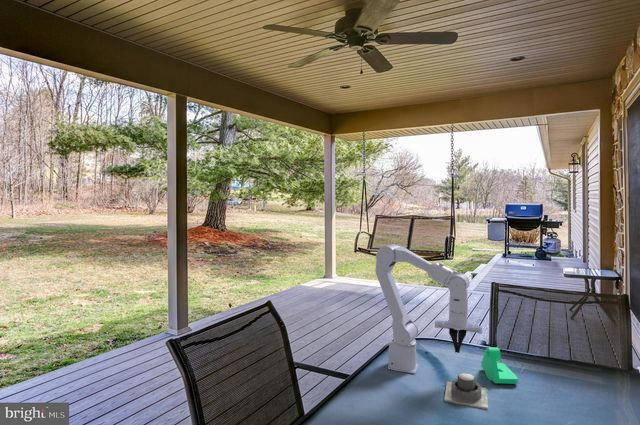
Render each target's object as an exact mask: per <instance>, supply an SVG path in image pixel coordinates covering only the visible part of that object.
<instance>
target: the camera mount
mask: <svg viewBox="0 0 640 425" xmlns="http://www.w3.org/2000/svg"><path fill="white" fill-rule="evenodd" d="M501 356H502V355H501V350H500V348H499V347H491V346H488V347H486V348H485V352H484V353H483V356H482V360H481V368H482V370H484V374H485V376H486V377H487V378H488V380H489V381H491V382H493V383H494V384H513V385H514V384H515V385H517V384H518V382H519V377H518V376H517V375H516V373H514V372H513V371H512V370H511V369H510V368H509V366H507V365H506V363H504V362H500V361H501V360H502V357H501Z"/></svg>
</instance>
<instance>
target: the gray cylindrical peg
mask: <svg viewBox="0 0 640 425" xmlns="http://www.w3.org/2000/svg"><path fill="white" fill-rule="evenodd" d="M457 379H458V388H460V389H462V390H466V391H475V382H476V378H475V376H474V375H473V374H470V373H466V372H462V373H459V374H458V375H457Z"/></svg>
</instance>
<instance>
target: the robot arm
mask: <svg viewBox="0 0 640 425" xmlns="http://www.w3.org/2000/svg"><path fill="white" fill-rule="evenodd" d="M375 259H376V260H375V275H376V278H377V280H378V282H379V286H380V288H381V291H382V294H383V296H384V299H385V302H386V304H387V306H388V310H389V312H390V316H391V317H392V322H391V327H392V332H393V334H392V338H393V340H391V341H389V346H388V367H387V369H388V370H390V369H391V371H397V372H402V373H409V374H413V375H415V374H417V370H418V367H419V363H417V340H416V337H417V336H418V335H419V327H418V326H417V324H416V323H415V322H414V321H413V318H412V317H411V315H409V314H408V313H407V311H406V307H405V304H404V303H403V300H402V298H401V295H400V292H399V289H398V286H397V284H396V281H395V279H394V277H393V276H394V275H393V273H392V271H393V269H394V267H395V265H396V264H397V263H408V264H410V265H412V266H414V267H416V268H418V269H420V270H422V271H424V272H426V273H427V275H428V278H430V279H432V280H433V281H436V283H439V284H441V285H443V286H444V287H447V288H448V290H449V300H448V301H449V302H448V304H449V306H448V308H449V309H448V320H435V322H434V328H435V329H438V328H441V329H446V330H448V333H449V336H450V339H451V341H452V343H453V347H454V353H456V354H458V353H461V352H460V350H461V347H462V344H463V341H464V340H465V338H466V336H467V332H470V333H477V334H480V335H482V332H483V331H482V330H483V326H482V325H477V324H473V323H468V308H469V306H468V305H469V303H468V302H469V298H468V295H469V294H468V292H469V291H468V288H469V287H470V279H469V277H468V276H467V275H466V274H464V273H463V272H458V270H455V269H454V270H453V269H451V268H449V267H447V266H446V265H445V263H444V262H433V263H432V262H430V261H428V260H426V259H424V258H423V257H421V256H419V255H418V254H417V253H415V252H412V251H411V250H410V249H408V248H406V247H405V246H401V245H400V244H397V243H391V244H388V245H384V246H381V247H380V248H379V249H378V250H377V252H376V254H375Z"/></svg>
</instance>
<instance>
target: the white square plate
mask: <svg viewBox="0 0 640 425" xmlns="http://www.w3.org/2000/svg"><path fill="white" fill-rule="evenodd" d="M488 400H489V399H488V388H487V387H482V386H481V385H480V383H478V382H476V381H475V391H466V390H462V389H460V388H458V378H457V379H454V380H452V381H446V384H445V393H444V398H443V401H444V402H447V403H451V404H457V405H462V406H467V407H472V408H477V409H478V408H479V409H481V410H482V409H483V410H489V401H488Z"/></svg>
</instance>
